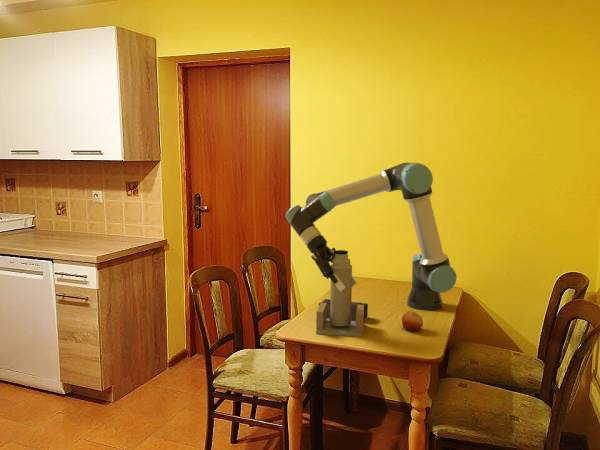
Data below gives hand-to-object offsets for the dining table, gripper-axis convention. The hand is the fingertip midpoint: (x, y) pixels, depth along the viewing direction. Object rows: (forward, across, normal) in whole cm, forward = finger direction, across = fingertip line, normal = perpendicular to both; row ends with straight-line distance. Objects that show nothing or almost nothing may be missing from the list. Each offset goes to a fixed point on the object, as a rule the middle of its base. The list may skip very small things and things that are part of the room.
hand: (348, 287), depth 193 cm
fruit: (+26, -16, +1) cm, 30 cm away
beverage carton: (+5, -13, -20) cm, 24 cm away
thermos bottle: (+8, 0, -13) cm, 15 cm away
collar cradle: (+10, 0, -14) cm, 17 cm away
